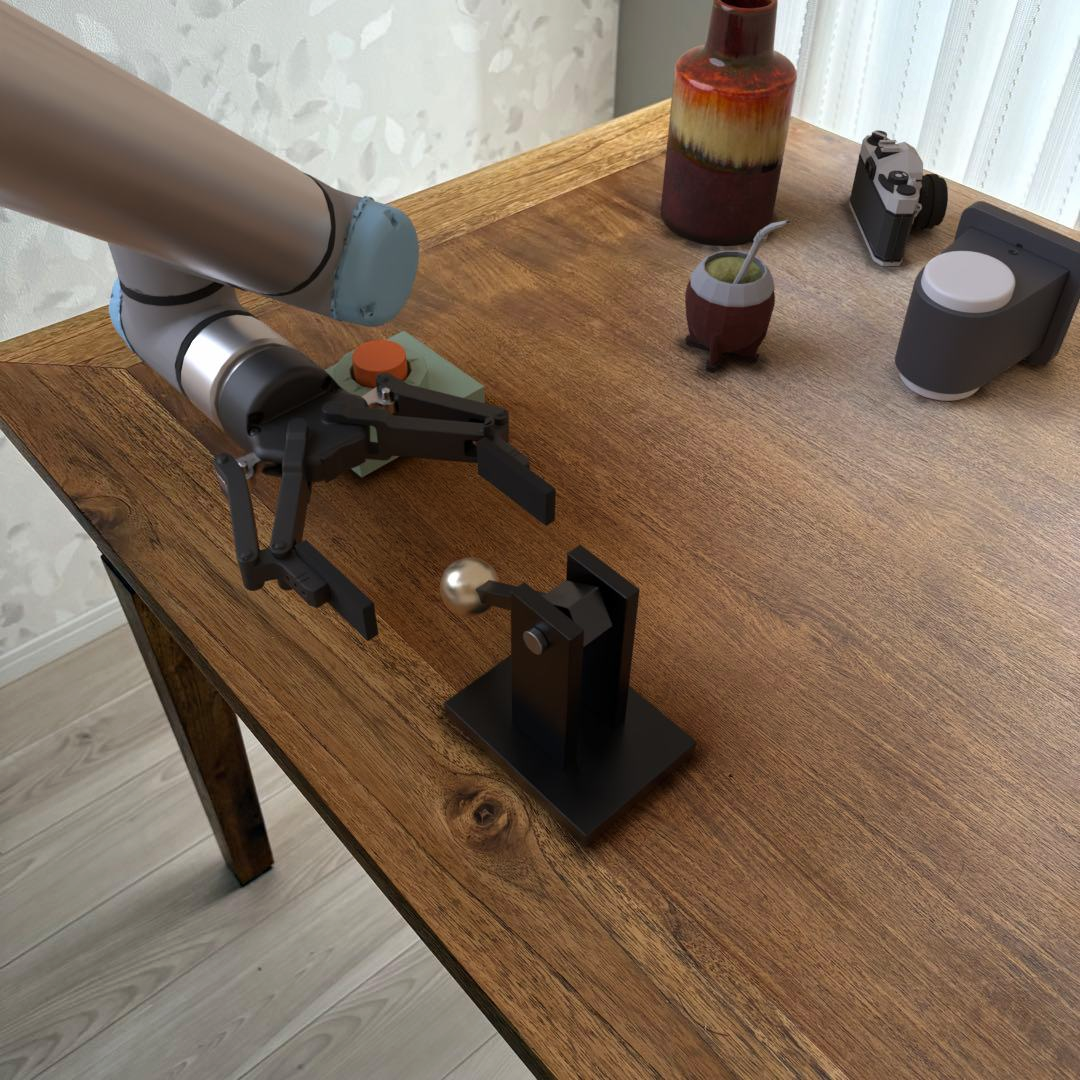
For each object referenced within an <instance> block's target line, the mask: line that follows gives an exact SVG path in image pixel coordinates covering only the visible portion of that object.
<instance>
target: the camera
mask: <svg viewBox="0 0 1080 1080" xmlns="http://www.w3.org/2000/svg"><path fill="white" fill-rule="evenodd" d="M897 142H898V141H897V140H896V139H890V138H889V137H888V133H887V132H886V131H883V130H879V129H878V130H877V129H876V130H874V131H872V132H871V134H866V135H865V137H864V138H863V139H862V142H861V146H860V150H859V153H858V160H857V165H856V168H855V169H856V170H855V174H854V178H853V184H852V187H851V192H850V196H849V199H848V200H849V201H848V206H849V208H850V210H851V213H852V214H853V217H854V219H855V222H856V225H857V226H858V228H859V231H860V233H861V236H862V238H863V240H864V242H865V244H866V245H865V246H866V247H867V250H868V252H869V254H870V256H871V258H872V261H873V262H874V263H876V264H878V265H879V266H881V267H900V265H901V264H902V262H903V260H904V257H905V254H906V253H905V251H906V248H907V245H908V240H909V237H910V233H911V232H915V231H917V230H918V229H920V230H934V228H935V227H937V226H940V225H941V224H942V223H943V222H944V219H945V217H946V213H947V210H948V202H949V189H948V184H947V182H946V180H945V178H944V177H940V176H939V174H937V173H926V174H924V162H923V160H922V159H921V156H920V155H919V153H918V151H917V149H916V148H915V147H914V146H913V145H911V144H909V143H908V142H906V141H903V142H898V143H897Z"/></svg>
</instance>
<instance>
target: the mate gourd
mask: <svg viewBox="0 0 1080 1080" xmlns="http://www.w3.org/2000/svg"><path fill="white" fill-rule="evenodd" d="M791 223H792V220H790V219H788V220H782V221H777V222H776V221H775V222H771V224H769V225H767V226H766V227H764V228H763V229H760V230H759V231H758V233H757V234H756V236H755V238H754V240H753V243H752V245H751V247H750V249H749V251H748V252H744V251H740V250H722V251H717V252H713V253H711V254H709V255H708V256H706V257H704V258H703V259H702V260H701V261H700V262H699V263H698V264H697V266H696V267H695V268H694V270H693V271H692V273H691V274H690V278H689V280H688V283H687V285H686V288H685V293H684V294H685V295H684V303H685V317H686V325H687V329H688V335H687V336H686V337H685V345H687V346H690V347H693V348H697V349H700V350H704V351H708V352H709V359H708V361H707V362H706V365H705V371H707V372H709V373H715V372H716V371H717V369H718V367H719V366H720V364H721V362H722V360H723V359H724V358H725V357H729V358H734V359H737V360H741V361H744V362H749V363H752V364H756V363H758V360H759V357H760V354H759V353H758V351H759V348H760V347H761V345H762V343H763V341H764V339H765V337H766V335H767V333H768V329H769V327H770V322H771V320H772V316H773V312H774V308H775V302H776V296H775V295H776V294H775V281H774V277H773V274H772V272H771V271H770V269H769V268H768V266H767V265H766V264H765V262H763V260H762V259H760V258H759V257H757V254H758V252H759V250H760V248H761V247H762V246H763V244H764V243H765V242H766V241H767V239H768V237H769V234H770V233H772V232H773V231H776V230H778V229H780V228H783V227H784V226H787V225H789V224H791Z"/></svg>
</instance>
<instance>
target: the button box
mask: <svg viewBox="0 0 1080 1080" xmlns="http://www.w3.org/2000/svg"><path fill="white" fill-rule="evenodd" d="M385 340H389V341H393V342H396V343H398V344H399V345H401V346H402V347H403V348H404V350H405V352H406V361H407V376H406V378H405V380H404V382H405V383H407V384H410V385H414V386H418V387H422V388H426V389H430V390H434V391H438V392H442V393H446V394H450V395H454V396H458V397H462V398H466V399H470V400H474V401H478V402H482V403H486V398H485V397H486V396H485V395H486V394H485V391H486V390H485V386H484V384H481V382H479V381H478V380H476V379H475V378H473V377H472V376H470V375H469V374H467V373H466V372H464V371H463V370H462V369H461V368H458V366H456V365H454V364H453V363H452V362H451V361H448V360H447V358H444V357H443V356H442V355H440V354H439V353H438V352H436V351H434V350H433V349H432V348H430V347H429V346H427V344H424V343H423V342H421V341H420V340H419V339H418V338H416V337H414V336H413V335H411V334H410V333H408V332H407V331H406V330H402V331H400V332H398V333H396V334H395V335H392V336H390V337H388V338H386V339H385ZM354 351H355V349H352V350H351V351H349V352H346V353H345V354H343V356H342V357H341V358H340V359H339V361H338V362H337V363H336V364H334V365H331V366H330V367H327V368H325V369H324V370H325V371H326V372H327V373H328V374H329V375H330V376H331V377H332V378H333V379H334V380H335V381H336V383H337V384H338V385H339V386H340V387H341V388H342V390H344V391H345V392H348V393H351V394H356V395H359V396H363V395H365V394H366V393H368V392H369V391H371V390H372V388H367V387H363V386H361V385H360V384H359V383H358V382H357V381H356V379H355V376H354V369H353V362H352V355H353V352H354ZM370 442H378V440H377V432H376V428H375V427H374V426H370ZM399 457H400V456H392V457H391V458H390V459H389V460H385V461H383V460H372V459H365V460H366V462H364V463H362V464H361V465H359V466H357V467H354V468H351V469H350V470H351V471H353V472H354V473H355V474H357V476H359V477H360V478H364V477H366V476H367V475H370V474H371V473H373V472H374V471H376V470H378V469H380V468H382V467H383V466H385V465H387V464H389V463H391V462H393V461H394V460H396V459H398V458H399Z"/></svg>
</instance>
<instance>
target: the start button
mask: <svg viewBox="0 0 1080 1080" xmlns="http://www.w3.org/2000/svg"><path fill="white" fill-rule="evenodd" d="M354 350H355V351H354V352H353V355H352V362H353V369H354V376H355V379H356V381H357V382H358V383H359V384H360V385H361V386H363V387H367V388H372V389H374V388H376V380H375V378H376V376H377V375H378V374H380V373H389V374H392V375H393V376H395V377H397V378H398V379H400V380H402V381H404V380H405V378H406V376H407V361H406V352H405V350H404V348H403V347H402V346H401V345H399V344H398V343H396V342H393V341H389V340H386V339H374V340H370V341H367V342H364V343H362V344H360V345H359V346H357V347H356V348H355V349H354Z"/></svg>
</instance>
